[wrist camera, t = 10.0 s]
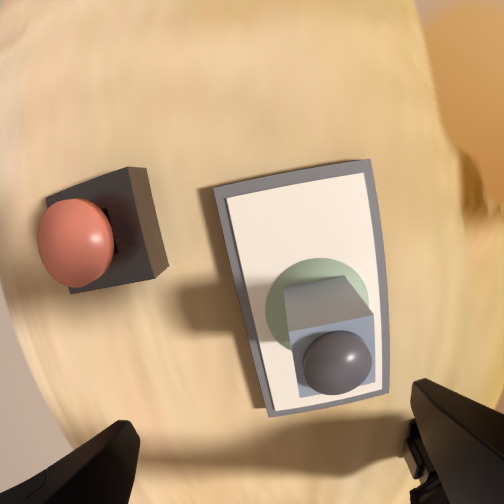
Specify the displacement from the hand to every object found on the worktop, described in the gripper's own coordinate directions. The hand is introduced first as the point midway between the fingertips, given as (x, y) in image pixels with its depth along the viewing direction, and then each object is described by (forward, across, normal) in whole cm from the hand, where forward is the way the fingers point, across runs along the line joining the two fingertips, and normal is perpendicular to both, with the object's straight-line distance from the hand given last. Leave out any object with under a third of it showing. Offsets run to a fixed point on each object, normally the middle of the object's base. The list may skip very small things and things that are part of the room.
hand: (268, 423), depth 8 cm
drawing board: (+13, -3, +2) cm, 14 cm away
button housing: (+14, +10, -6) cm, 18 cm away
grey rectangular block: (+12, -3, +2) cm, 12 cm away
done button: (+12, +10, -6) cm, 16 cm away
